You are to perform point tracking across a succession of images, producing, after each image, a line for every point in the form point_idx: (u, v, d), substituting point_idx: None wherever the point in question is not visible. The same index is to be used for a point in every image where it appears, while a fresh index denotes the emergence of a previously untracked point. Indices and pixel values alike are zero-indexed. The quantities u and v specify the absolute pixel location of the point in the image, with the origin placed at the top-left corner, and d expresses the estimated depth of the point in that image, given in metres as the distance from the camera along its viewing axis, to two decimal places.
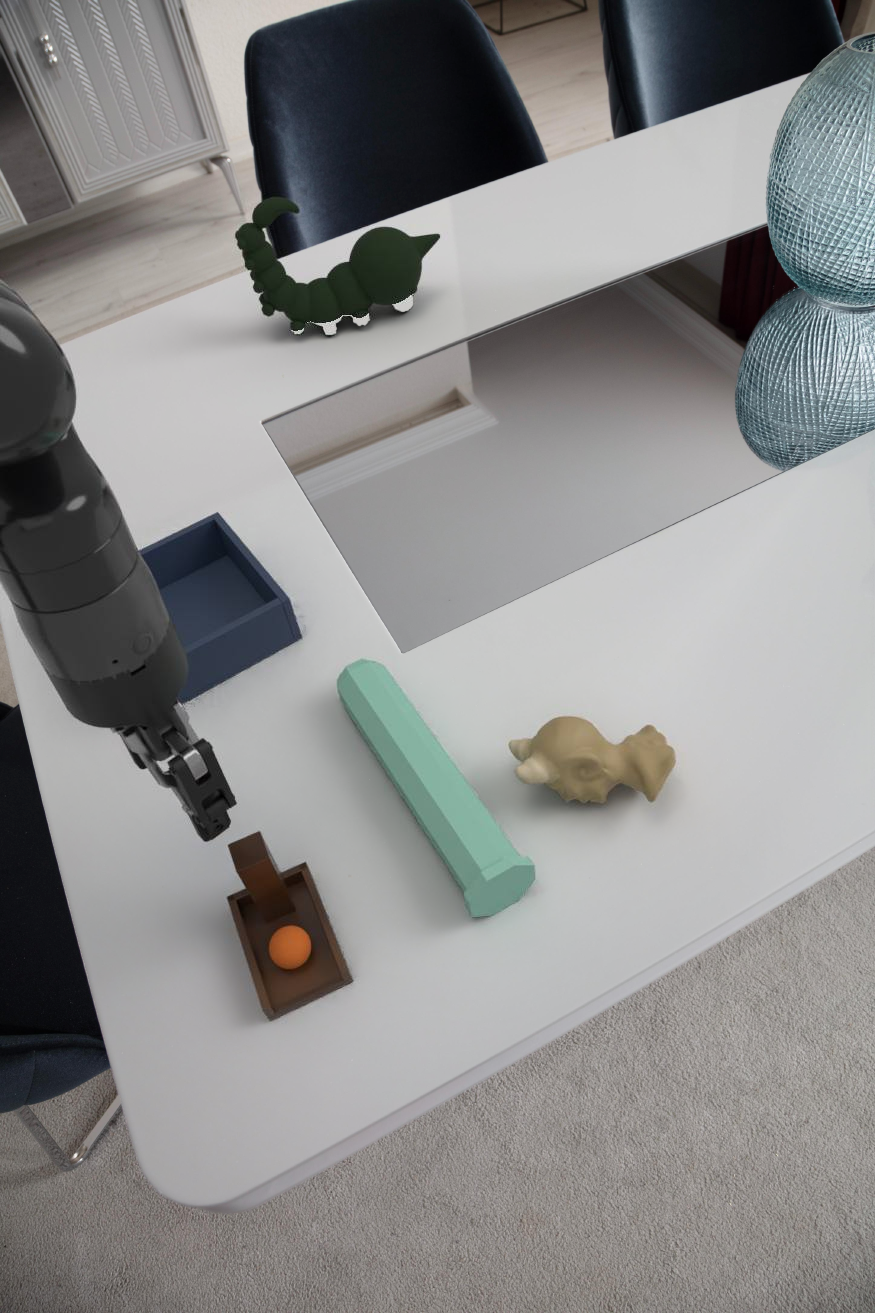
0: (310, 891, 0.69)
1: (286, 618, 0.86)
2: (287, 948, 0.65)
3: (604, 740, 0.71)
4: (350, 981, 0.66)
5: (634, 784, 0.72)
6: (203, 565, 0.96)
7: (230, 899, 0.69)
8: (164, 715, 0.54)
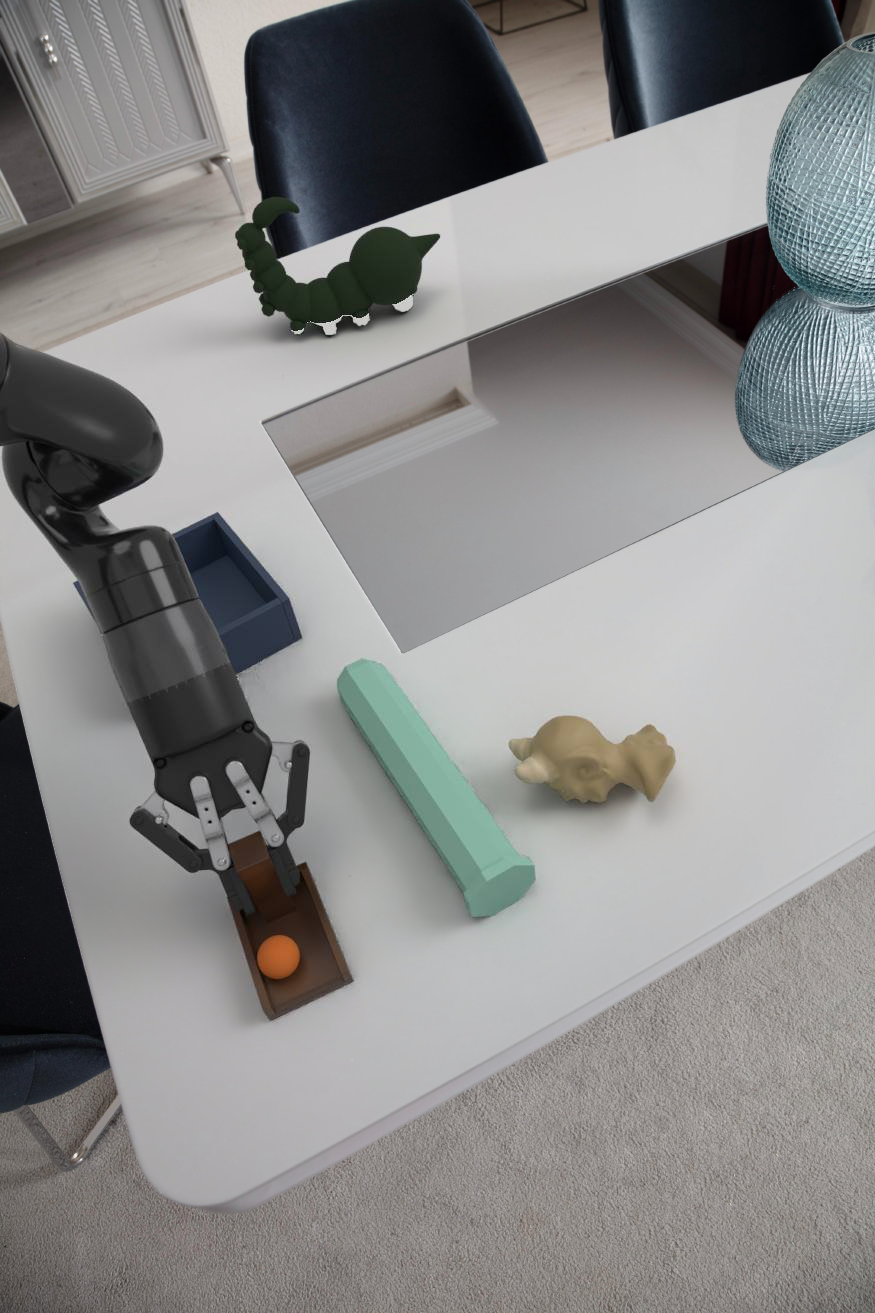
0: (310, 891, 0.69)
1: (286, 618, 0.86)
2: (270, 968, 0.65)
3: (604, 740, 0.71)
4: (350, 981, 0.66)
5: (634, 784, 0.72)
6: (203, 565, 0.96)
7: None
8: None
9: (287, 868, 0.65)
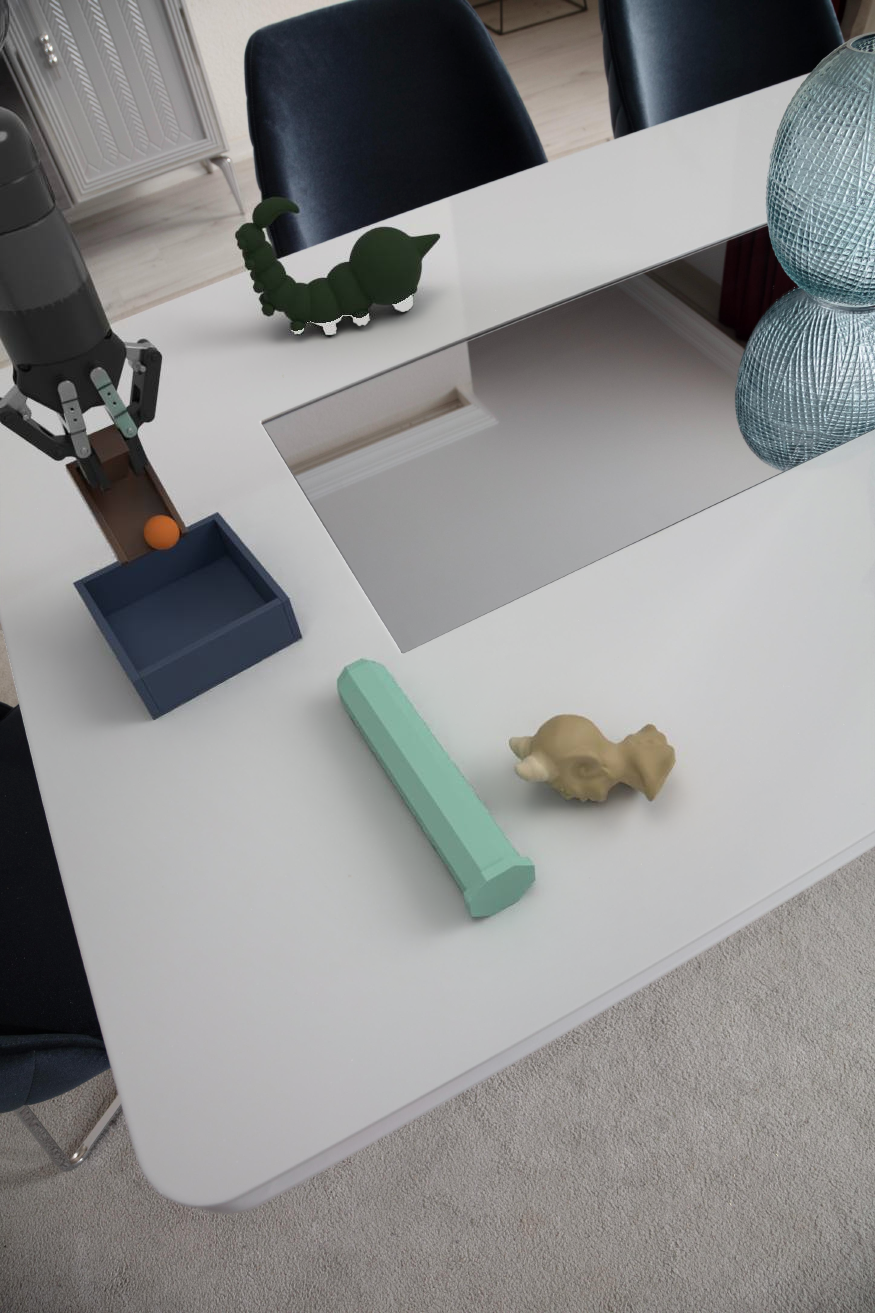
0: None
1: (286, 618, 0.86)
2: None
3: (604, 739, 0.72)
4: (185, 535, 0.83)
5: (633, 783, 0.72)
6: (203, 565, 0.96)
7: (69, 467, 0.79)
8: None
9: (137, 453, 0.76)
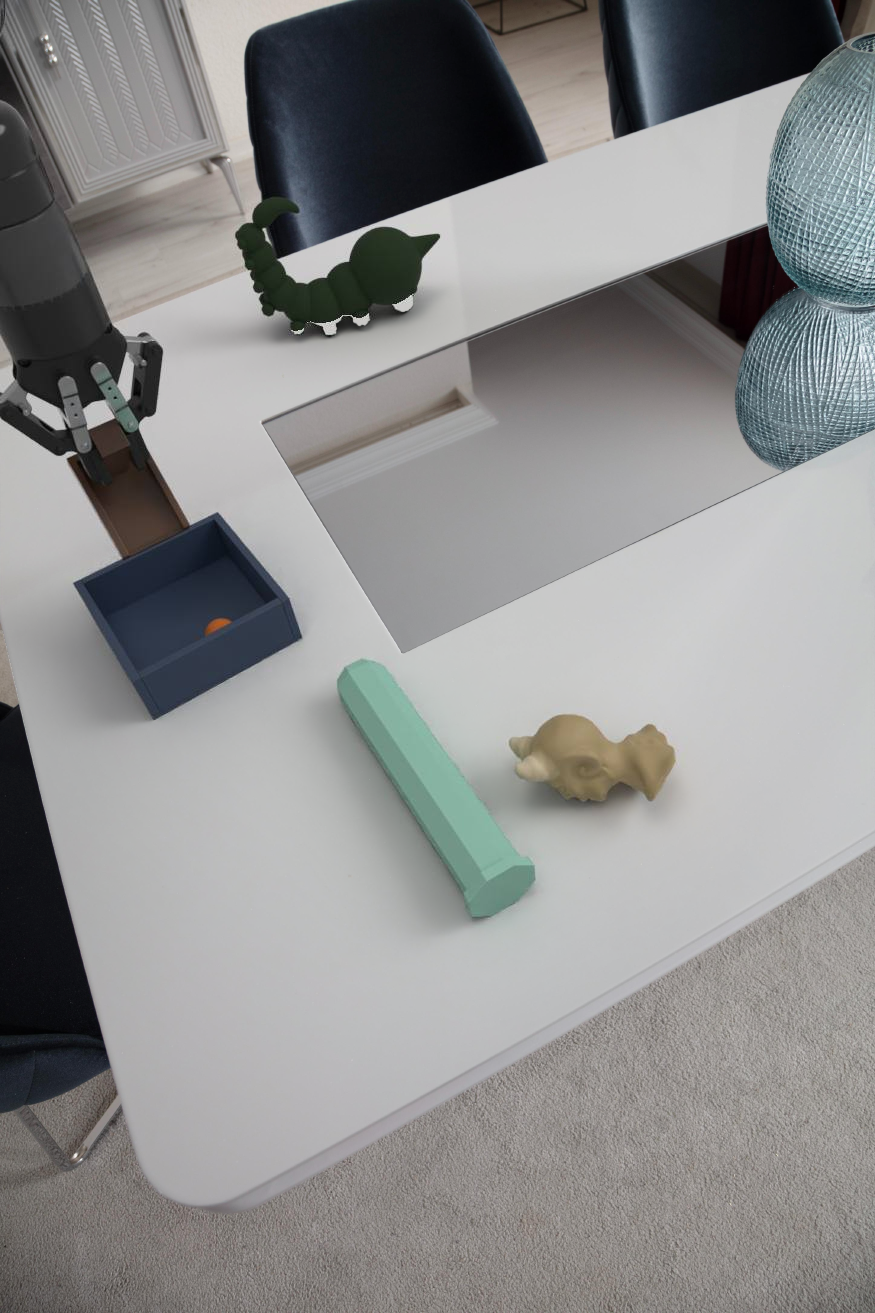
0: None
1: (286, 618, 0.86)
2: None
3: (604, 739, 0.72)
4: (187, 529, 0.83)
5: (633, 783, 0.72)
6: (203, 565, 0.96)
7: (70, 460, 0.78)
8: None
9: (138, 447, 0.76)
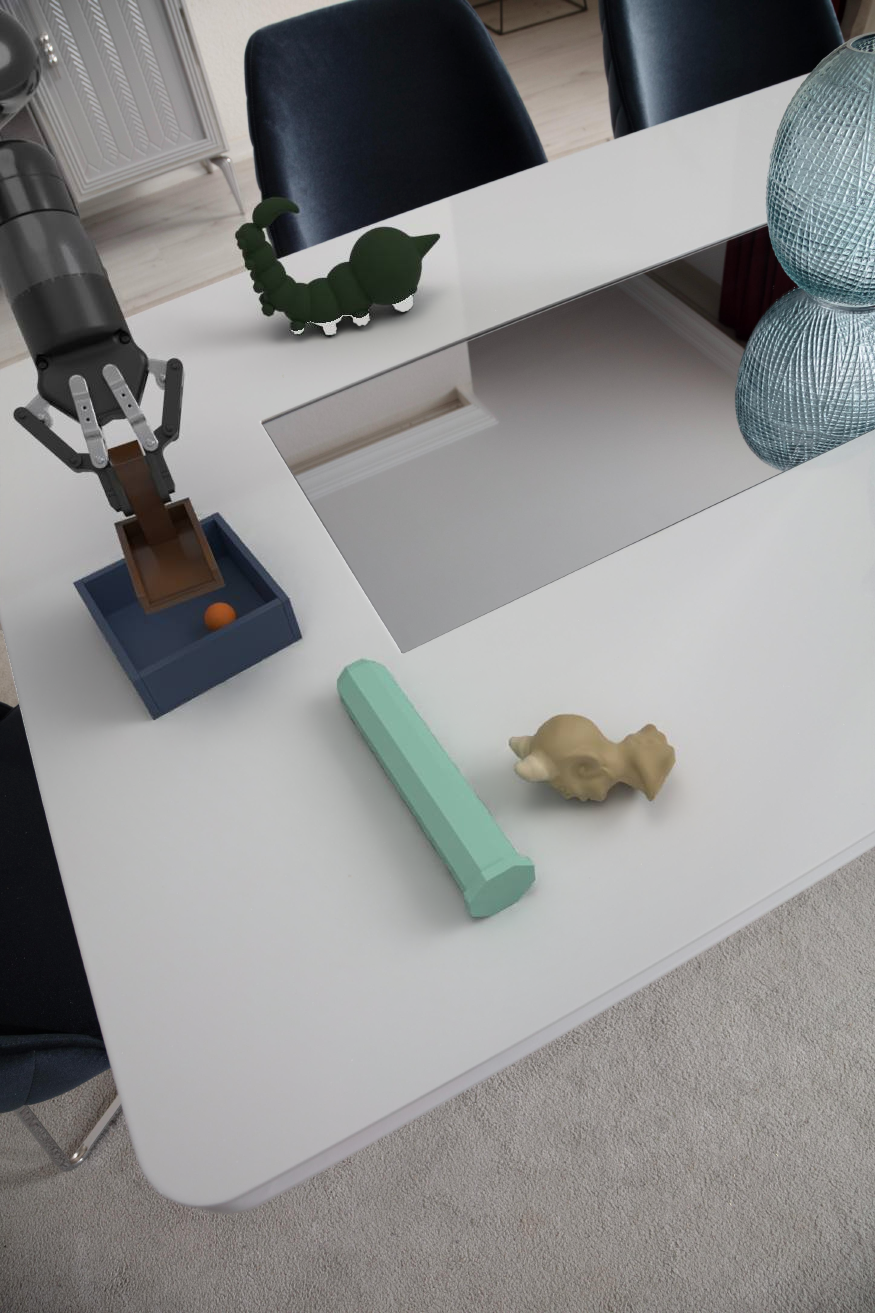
0: (190, 516, 0.75)
1: (286, 618, 0.86)
2: (230, 606, 0.89)
3: (604, 738, 0.72)
4: (222, 584, 0.72)
5: (633, 783, 0.72)
6: None
7: (117, 524, 0.76)
8: None
9: (162, 474, 0.71)
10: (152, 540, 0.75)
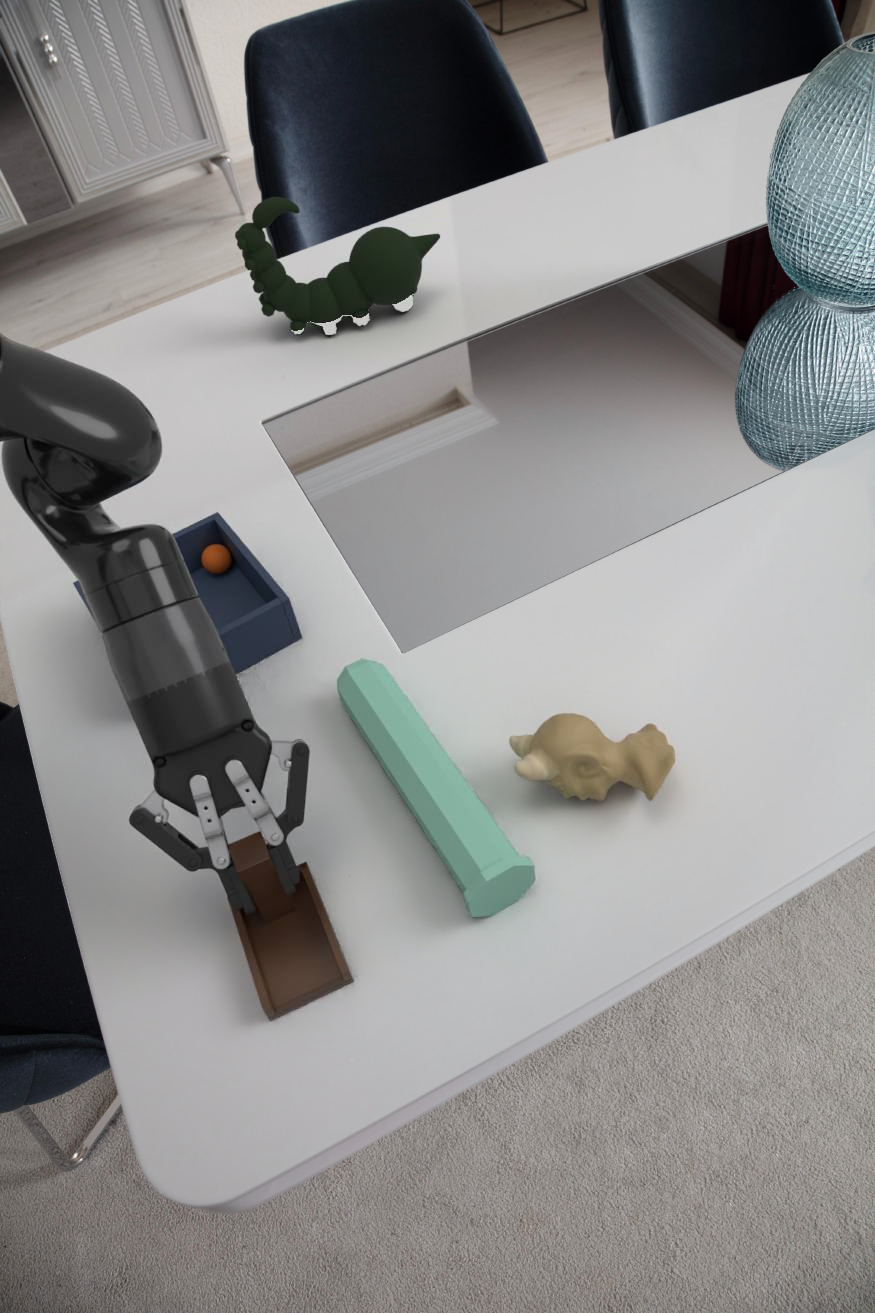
0: (310, 891, 0.69)
1: (286, 618, 0.86)
2: (225, 548, 0.94)
3: (604, 738, 0.72)
4: (350, 981, 0.66)
5: (633, 782, 0.72)
6: None
7: None
8: (254, 719, 0.66)
9: (287, 867, 0.65)
10: (269, 918, 0.69)
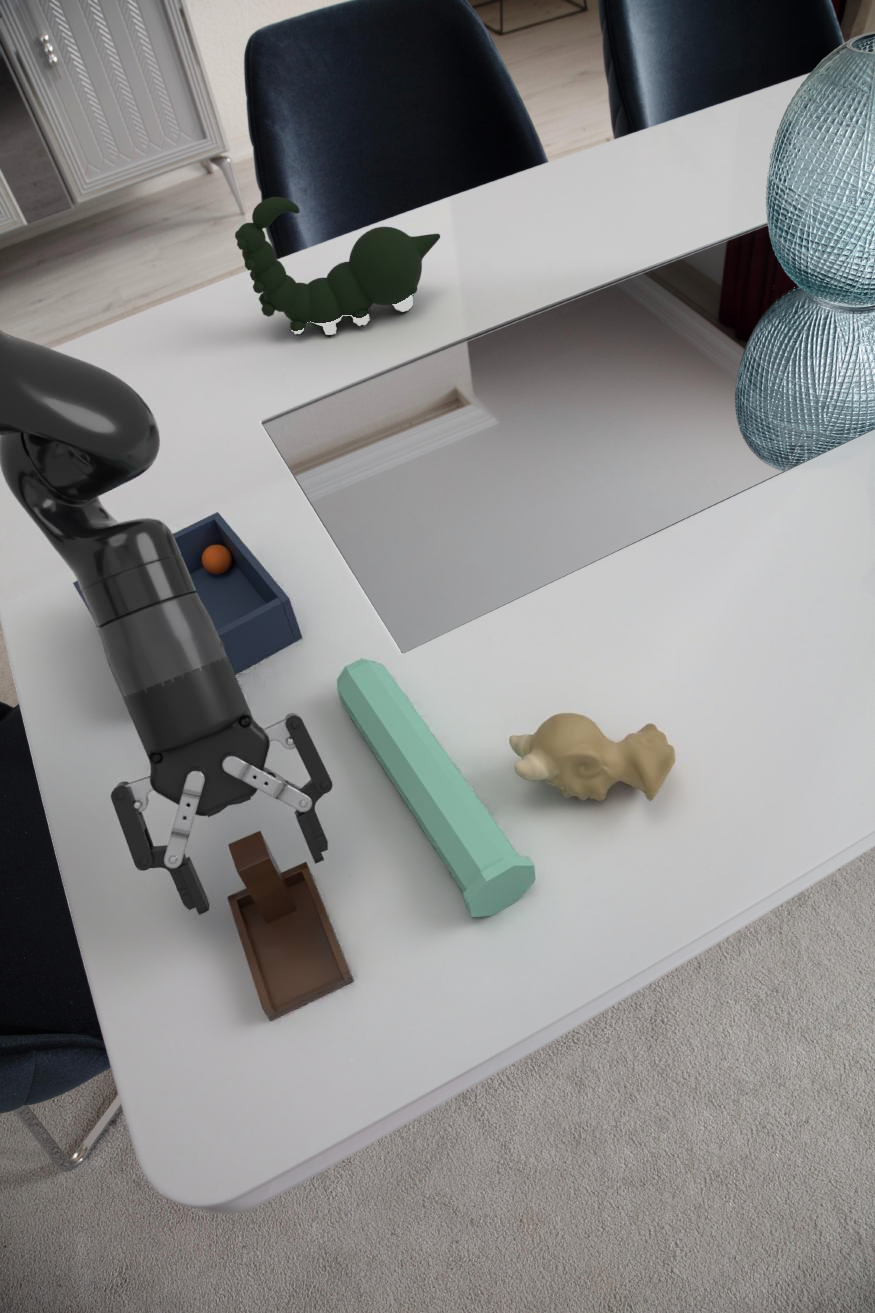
0: (310, 891, 0.69)
1: (286, 618, 0.86)
2: (226, 549, 0.94)
3: (604, 738, 0.72)
4: (350, 981, 0.66)
5: (633, 782, 0.72)
6: None
7: (230, 899, 0.69)
8: (251, 715, 0.65)
9: (315, 834, 0.65)
10: (269, 918, 0.69)
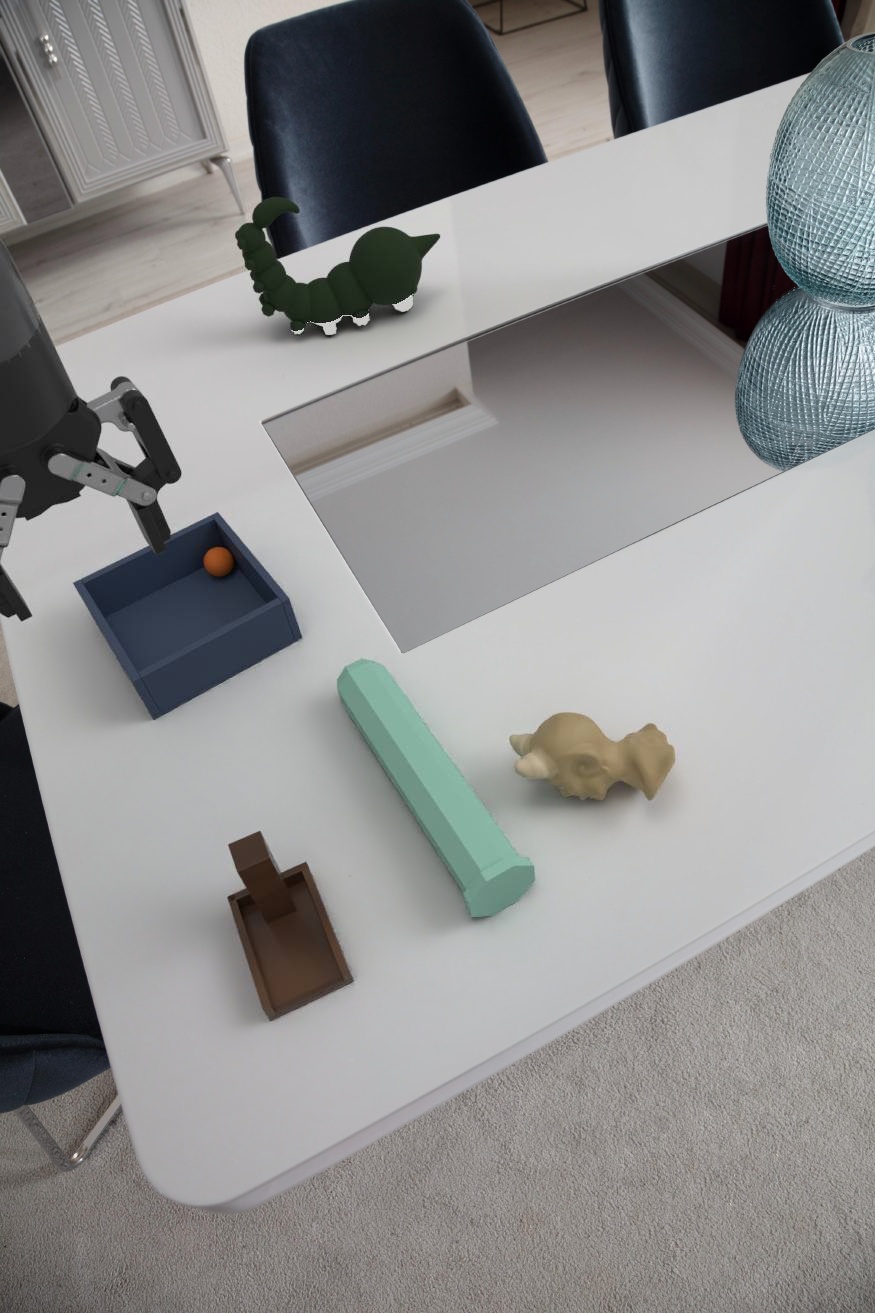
0: (310, 891, 0.69)
1: (286, 618, 0.86)
2: (229, 554, 0.93)
3: (604, 737, 0.72)
4: (350, 981, 0.66)
5: (633, 782, 0.72)
6: (203, 565, 0.96)
7: (230, 899, 0.69)
8: None
9: (156, 524, 0.55)
10: (269, 918, 0.69)
